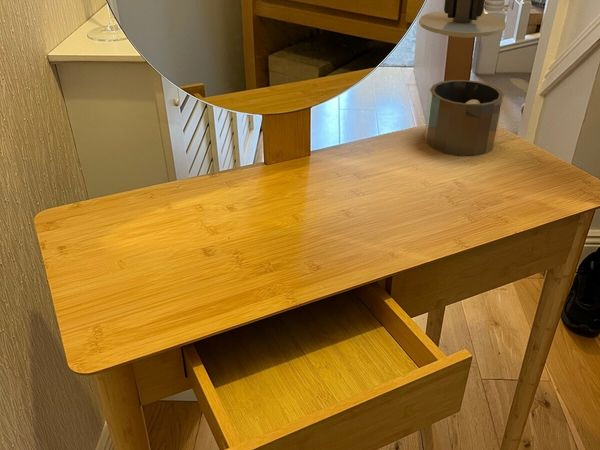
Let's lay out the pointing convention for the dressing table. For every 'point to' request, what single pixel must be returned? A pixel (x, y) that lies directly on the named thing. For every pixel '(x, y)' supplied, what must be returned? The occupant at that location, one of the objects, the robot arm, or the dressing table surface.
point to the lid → (462, 22)
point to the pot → (463, 117)
